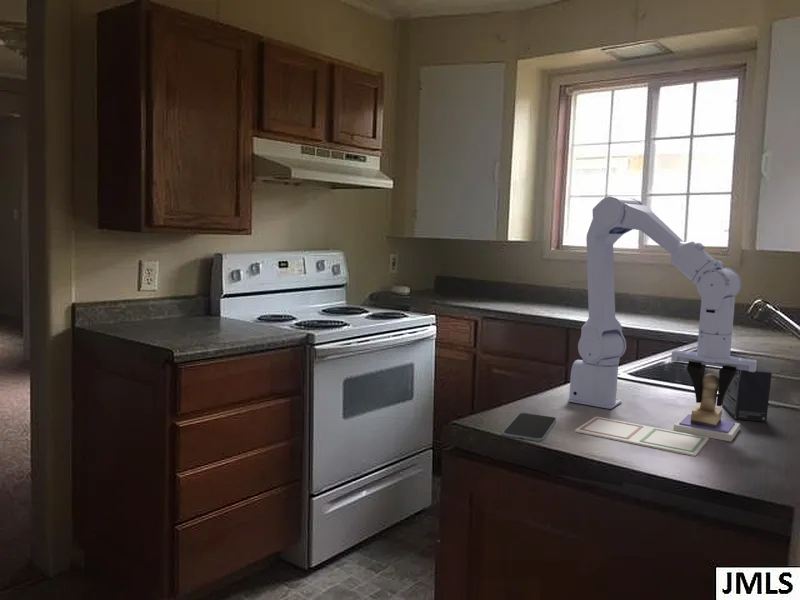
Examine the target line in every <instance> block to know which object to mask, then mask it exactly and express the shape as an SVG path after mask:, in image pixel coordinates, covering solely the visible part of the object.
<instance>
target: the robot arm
mask: <svg viewBox="0 0 800 600" xmlns="http://www.w3.org/2000/svg"><path fill="white" fill-rule="evenodd" d="M633 230H637V231H641V232H642V233H643V234H645V236H647V237H648V238H649V239H651V240H653V242H655V243H656V244H657V245H659V246H660V247H661V248H663V249H664V250H665V251H666V252H667V253H669V255H670V261H671V264H672V265H673V266H674V267H675V268H676V269H677V270H679V272H681V273H682V274H683V275H684V276H685V277H686V278H687V279H688V280H690V281H691V282H692V283H693V284H694V285H695V287H696V291H697V293H698V295H699V296H700V298H701V303H700V310H699V311H700V313H699V324H698V325H699V326H698V335H697V336H698V338H697V349H696V351H686V350H685V351H684V350H678V349H676V350H672V351H671V360H670V361H671V362H674V363H675V362H678V363H679V362H680V363H687V367H686V370H687V372H688V375H689V376H690V379H691V383H692V386H693V388H694V389H693V390H694V394H695V403H697V404H701V396H702V389H703V385H702V378H703V377H704V376H705V371H706V366H710V367H719V368H720V369H719V370H718V371H719V372H718V377H719V387H718V391H717V398H716V407H722V404H723V400H724V396H725V393H726V391H727V389H728V386H729V384H730V383H731V381H732V379H733V377H734V376H735V374H736V373H737V371H738V369H740V370H747V371H749V372H755V371H756V363H757V362H758V361H757V360H755V359H751V358H749V359H748V358H743V357H737V356H732V355H731V349H732V338H733V327H734V317H735V304H736V296H737V295H738V294H739V293H740V292H741V289H742V278H741V277H740V275H739V274H738V273H737V271H736V270H735V269H733V268H730V267H723V265H724V262H723V261H721V260H716V259H715V258H714V257H712V256H711V255H710V254H709V253H708V252H707V251H705V250H704V249H705V245H703V244H702V243H700V242H695V241H691V240H689V241H684V240H683V239H681V238H680V237H679V236H678V235H677V234H676V232H674V231H673V230H672V229H671V228H670V227H669V226H668V225H667V224H666V223H664V221H663V220H662V219H660V218H659V216H657V215H656V213H655V212H653V210H652V209H651V208H650V206H647V205H645V204H644V203H643V202H642V201H640V200H639V199H636V198H622V197H621V198H620V197H616V196H606V197H604V198H602V199H601V200H600V201H599V202H598V203H597V204H596V205H595V206H594V207H593V208H592V220H591V222H590V226H589V228H588V230H587V233H586V237H585V239H586V263H587V264H586V270H587V272H586V273H587V298H588V299H587V300H588V301H587V302H588V305H587V306H588V319H587V320H586V321H585V323H584V324H583V325H582V326H581V330H580V331H581V334H580V338H579V339H578V343H577V349H578V350H577V351H578V354H579V356H580V357H581V358H582V359H575V360H574V362H573V363H572V366H571V370H570V377H569V378H570V379H569V381H570V382H569V396H568V399H567V402H570V403H575V404H580V405H585V406H592V407H595V408H596V407H597V408H601V409H602V408H603V409H607V410H611V409H613V408H614V407H617V406H618V405H619V404H621V403H622V402H623V401H622V399H619V398H617V390H618V376H619V375H618V374H619V365H620V364H619V363H620V358H621V357H623V355H624V354H625V352H626V350H627V341H626V338H625V336H624V334H623V331H622V330H623V327H622V324H621V323H620V321H619V320H618V318H616V296H615V295H616V293H615V269H614V268H615V266H614V265H615V264H614V263H615V262H614V261H615V259H614V258H615V257H614V245H615V243H616V242H617V241H618V240H619V239H620V238H621V237H622V236H623V235H624V234H626V233H628V232H631V231H633ZM757 364H758V363H757Z"/></svg>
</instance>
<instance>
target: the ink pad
mask: <svg viewBox="0 0 800 600" xmlns="http://www.w3.org/2000/svg"><path fill="white" fill-rule="evenodd" d="M691 414H692V413H688V414H686V413H685V414H683V415H682V416H681V417H680V418H679V419H678V420H677V421H675V423H674V424H673V430H672V431H676V432H681V433H687V434H692V435H697V436H703V437H708V438H709V439H710V438H711V439H716V440H721V441H726V442H730V443H731V442H732V441H733V440H734V438H736V436H737V434H738V432H739V431H740V427H741V423H740V422H739V423H738V422H735V421H731V420H723V419H721V421H720V423H719V424H718V425H717V427H716V428H713V427H708V426H703V425H698V424H694V423H690V422H691Z"/></svg>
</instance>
